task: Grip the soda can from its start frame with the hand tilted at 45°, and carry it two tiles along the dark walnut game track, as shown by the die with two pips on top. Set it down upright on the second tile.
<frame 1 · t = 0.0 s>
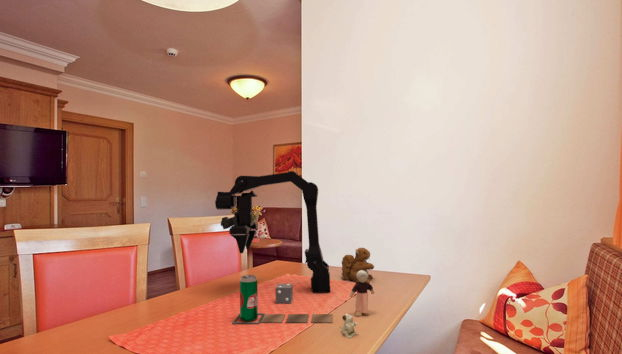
hand: (244, 251, 125), 15 cm above the table, tool pointing down, fingers open, 9 cm apart
grandmother figurine: (363, 314, 98), on the table
stuffed squirrel: (356, 280, 137), on the table
game track: (273, 318, 96), on the table
toy dog: (348, 334, 84), on the table
soda can: (249, 319, 96), on the table
die: (284, 301, 111), on the table
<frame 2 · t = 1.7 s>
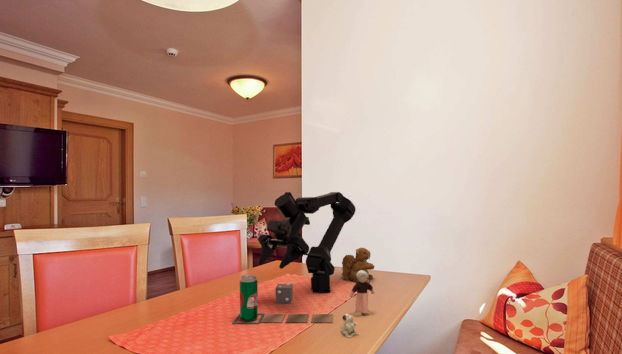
hand: (269, 266, 103), 13 cm above the table, tool tilted 45°, fingers open, 9 cm apart
nothing on the table moved.
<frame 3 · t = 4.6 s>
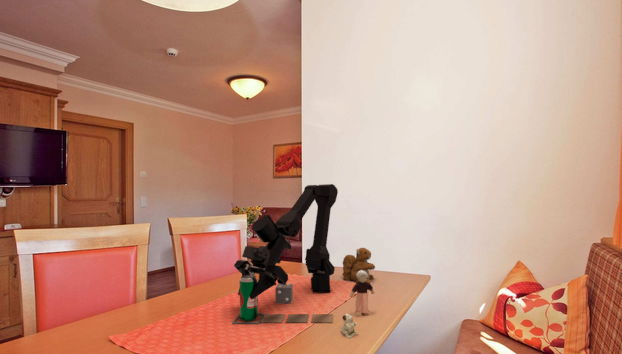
hand: (245, 296, 95), 7 cm above the table, tool tilted 45°, fingers closed on soda can, 5 cm apart
soda can: (249, 319, 96), on the table, touching gripper
everything else where it was.
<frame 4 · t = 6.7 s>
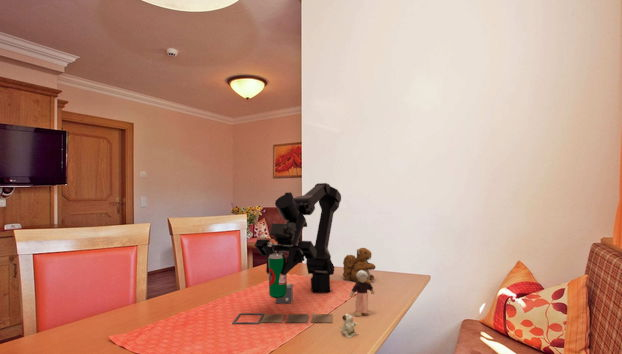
hand: (275, 273, 94), 13 cm above the table, tool tilted 45°, fingers closed on soda can, 5 cm apart
soda can: (278, 296, 95), point 6 cm above the table, touching gripper
everything else where it was.
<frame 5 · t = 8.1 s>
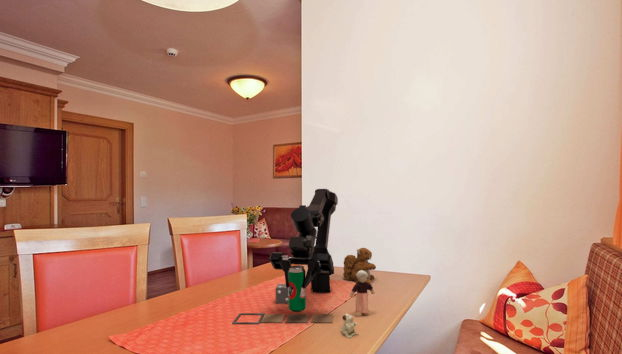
hand: (295, 287, 94), 9 cm above the table, tool tilted 45°, fingers closed on soda can, 5 cm apart
soda can: (297, 310, 96), point 2 cm above the table, touching gripper
everything else where it was.
when the fingers open (8 cm above the table, at t = 8.7 s): soda can drops 1 cm, resting on game track.
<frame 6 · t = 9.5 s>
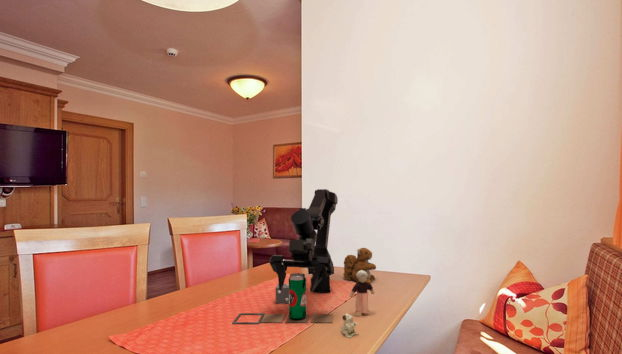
hand: (295, 290, 94), 8 cm above the table, tool tilted 45°, fingers open, 9 cm apart
soda can: (297, 318, 95), resting on game track
everything else where it was.
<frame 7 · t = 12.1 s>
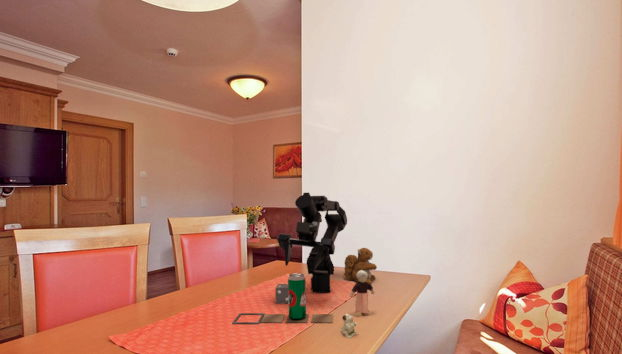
hand: (299, 267, 105), 13 cm above the table, tool tilted 40°, fingers open, 9 cm apart
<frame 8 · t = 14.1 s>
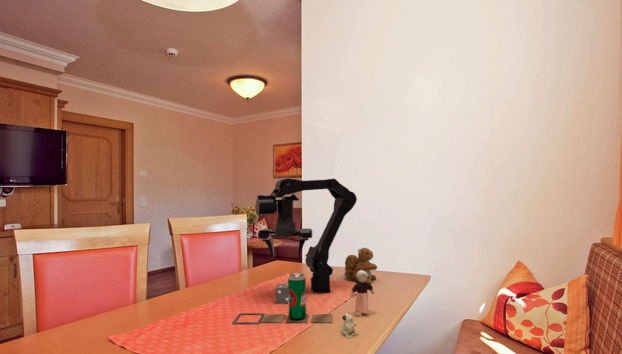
hand: (286, 258, 118), 13 cm above the table, tool pointing down, fingers open, 9 cm apart
at the end: soda can 0.3 cm from the target spot, resting on game track; soda can tilted 0°; the gripper is holding nothing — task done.
